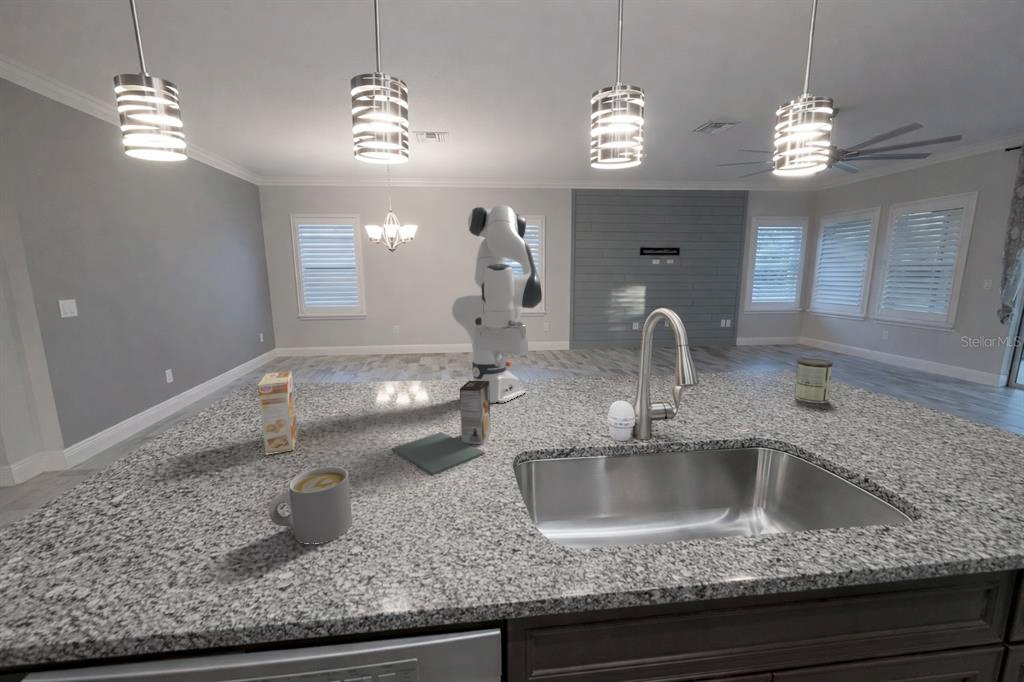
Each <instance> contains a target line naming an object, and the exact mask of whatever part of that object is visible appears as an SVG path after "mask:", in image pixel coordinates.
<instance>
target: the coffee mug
mask: <svg viewBox="0 0 1024 682" xmlns="http://www.w3.org/2000/svg"><path fill="white" fill-rule="evenodd" d="M288 489H289V491H286V492H282V493H280V494H278V495H275V496H274V497H273V498H272V499H271V501H270V503H269V507H268V508H269V509H268V511H269V512H268V513H269V518H270V520H271V522H273V524H275V525H276V526H279V527H280V526H281V527H288V528H291V529H292V530H293V533H294V534H293V536H294V539H295V541H296V540H297V541H299V542H302V543H309V544H313V543H314V544H315V543H321V542H326V541H330V540H333V539H335V538H337V537H339V536H341V535H342V534H344V533H345V532H346V531H347V530H348V529H349V528H350V527H352V526H353V517H352V515H353V514H352V512H353V511H352V504H351V503H352V502H351V493H350V492H351V491H350V480H349V472H348V470H346V469H345V468H343V467H339V466H323V467H317V468H312V469H310V470H307V471H304V472H302V473H300V474H298V475H297V476H294V477H293V479H291V480H290V482H289V485H288ZM281 504H287V505H288V507H289V510H290V512H289V514H288V515H286V516H282V515H280V513H279V512H278V508H279V506H280V505H281ZM351 525H352V526H351ZM350 529H351V528H350ZM350 529H349V530H350ZM349 530H348V531H349ZM348 531H347V532H348ZM347 532H346V533H347ZM346 533H345V534H346ZM345 534H344V535H345ZM342 536H343V535H342ZM342 536H341V537H342ZM339 538H340V537H339ZM337 539H338V538H337ZM335 540H336V539H335ZM297 541H296V542H297ZM333 541H334V540H333ZM299 542H298V543H299ZM330 542H331V541H330Z"/></svg>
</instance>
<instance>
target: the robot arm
mask: <svg viewBox="0 0 1024 682" xmlns="http://www.w3.org/2000/svg"><path fill="white" fill-rule="evenodd" d="M526 221H527V220H526V219H525V217H524V216H522V215H520V214H516V213H515V211H514V209H513V208H511V206H509V205H506V204H499V205H495V206H494V207H493V208H484V207H480V206H479V207H477V206H476V207H475V208H473V209H472V211H471V212H470V214H469V216H468V218H467V224H468V225H467V226H468V230H469V232H470V233H471V234H472V235H473V236H476V237H481V238H484V239H482V241H481V242H480V245H479V248H478V251H477V256H476V262H475V263H476V264H475V273H474V281H475V284H476V285H477V286H478V288H480V289H481V295H480V294H479V295H465V296H461V297H457V298H456V299H455V300H454V302H453V304H452V307H451V313H452V317H453V318H454V320H455V322H456V323H458V324H459V325H460V326H461V327H463V329H464V330H465V331H466V332H467V335H468V336H469V339H470V341H471V347H472V359H473V360H472V364H471V365H472V366H471V371H472V376H473V377H472V378H473V379H472V381H489V388H490V404H495V403H496V402H499V404H505V403H504V402H506V403H508V402H507V401H509V400H511V399H513V398H515V397H517V396H519V395H521V394H523V393H525V392H526V393H527V391H526V390H525V389H524V388H521V384H520V380H519V378H518V377H517V376H516V375H514V374H513V373H512V372H510V371H508V369H507V367H509V368H510V367H511V366H512V362H511V361H510V360H508V358H509V356H510V355H514V356H524V355H526V354H528V352H529V341H528V340H529V339H528V334H527V328H526V326H525V324H524V323H523V322H522V321H519V320H520V318H521V315H522V310H523V309H534V308H535V307H537V306H538V305H540V303H541V302H542V300H543V293H544V292H543V286H542V282H541V280H540V278H539V274H538V272H537V268H536V265H535V261H534V258H533V253H532V251H531V247H530V245H529V243H528V241H526V240H525V239H524V237H525V235H526V233H527V222H526ZM506 259H508V260H512V261H514V262H516V263H518V264H520V266H521V269H522V273H523V275H515V276H514V272H513V268H512V267H513V266H511V265H509V264H506ZM522 308H523V309H522ZM515 399H516V398H515ZM513 400H514V399H513ZM511 401H512V400H511ZM509 402H510V401H509ZM496 404H497V403H496Z"/></svg>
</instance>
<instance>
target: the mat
mask: <svg viewBox="0 0 1024 682" xmlns="http://www.w3.org/2000/svg"><path fill="white" fill-rule="evenodd" d="M391 451H392V452H393V453H395V454H396V455H399V456H400V457H402V458H403V459H405V460H407V461H409V462H411V463H412V464H413V465H416V466H417V467H419V468H420V469H421V470H424V471H426V472H427V473H429V474H430V475H431V476H434V475H437V474H439V473H441V472H444V471H446V470H449V469H451V468H454V467H457V466H459V465H461V464H464V463H466V462H469V461H472V460H473V459H475V458H478V457H481V456H483V455H485V451H484V450H481V449H479V448H476V447H474V446H473V445H471V444H467V443H464V442H462V440H459V439H457V438H455V437H453V436H451V435H448V434H446V433H444V432H442V431H441V432H437V433H435V434H434V433H433V434H432V435H431V434H430V435H429V436H425V437H422V438H419V439H417V440H413V441H409V442H407V443H403V444H401V445H398V446H395V447H391Z"/></svg>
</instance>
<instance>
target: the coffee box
mask: <svg viewBox="0 0 1024 682" xmlns="http://www.w3.org/2000/svg"><path fill="white" fill-rule="evenodd" d="M459 404H460V406H459V407H460V428H461V431H460V432H461V441H462V442H464V443H466V444H468V445H484V443H485V442H486V440H487V439H488V437H489V436H490V434H491V433H492V430H491V429H492V427H491V426H492V425H491V424H492V423H491V421H492V419H491V403H490V388H489V381H473V380H468V381H467V382H466V383H465V384H464V385H462V386H461V387H459Z"/></svg>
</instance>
